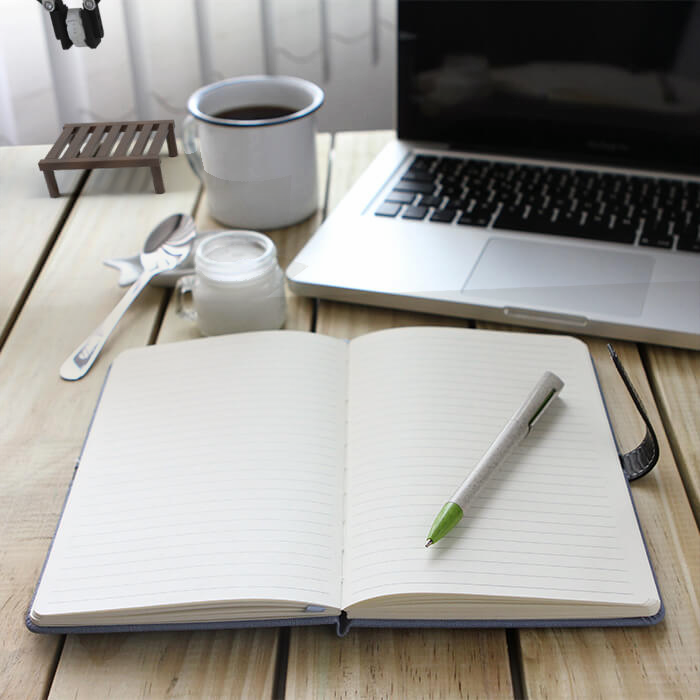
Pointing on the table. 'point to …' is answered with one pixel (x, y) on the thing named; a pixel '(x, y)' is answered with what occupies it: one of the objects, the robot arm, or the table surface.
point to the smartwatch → (76, 27)
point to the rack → (109, 149)
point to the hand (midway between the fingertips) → (82, 44)
